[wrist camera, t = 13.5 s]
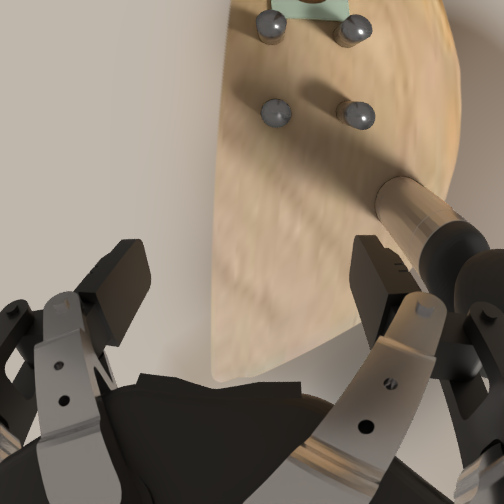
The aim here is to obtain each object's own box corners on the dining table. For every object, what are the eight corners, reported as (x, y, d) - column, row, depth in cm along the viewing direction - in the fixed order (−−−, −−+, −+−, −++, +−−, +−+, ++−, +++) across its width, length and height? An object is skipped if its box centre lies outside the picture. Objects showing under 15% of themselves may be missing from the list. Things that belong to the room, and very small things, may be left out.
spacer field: (356, 27, 31) (371, 16, 25) (359, 125, 38) (374, 130, 32) (257, 23, 32) (255, 10, 26) (263, 123, 39) (261, 128, 33)
